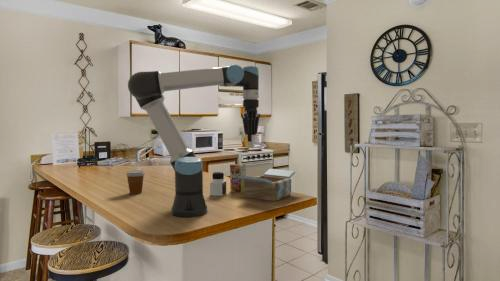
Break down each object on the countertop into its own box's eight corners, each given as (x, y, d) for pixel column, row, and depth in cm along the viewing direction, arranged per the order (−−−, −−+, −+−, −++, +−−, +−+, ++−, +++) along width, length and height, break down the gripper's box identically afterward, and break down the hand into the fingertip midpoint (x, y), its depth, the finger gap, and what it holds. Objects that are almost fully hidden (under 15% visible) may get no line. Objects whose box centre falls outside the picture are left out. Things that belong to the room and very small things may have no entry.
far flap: (288, 176, 174) (294, 170, 180) (263, 174, 184) (269, 168, 189) (289, 178, 175) (295, 172, 180) (264, 175, 184) (270, 170, 189)
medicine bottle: (222, 196, 173) (222, 173, 172) (209, 195, 174) (209, 173, 173) (226, 193, 180) (226, 171, 179) (213, 192, 181) (213, 171, 180)
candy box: (229, 191, 184) (229, 164, 184) (235, 190, 188) (235, 163, 187) (240, 193, 178) (240, 165, 177) (246, 192, 181) (246, 165, 180)
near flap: (246, 178, 170) (238, 175, 164) (272, 181, 161) (265, 178, 155) (245, 180, 170) (237, 177, 164) (272, 183, 160) (264, 181, 155)
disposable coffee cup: (123, 194, 178) (122, 172, 177) (133, 190, 187) (132, 170, 186) (138, 195, 175) (138, 173, 175) (148, 191, 185) (147, 170, 184)
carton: (276, 201, 160) (276, 183, 160) (243, 196, 172) (243, 179, 172) (292, 195, 173) (292, 178, 173) (260, 190, 185) (260, 175, 185)
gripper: (249, 98, 150) (249, 149, 152) (264, 99, 161) (264, 147, 162) (236, 98, 155) (236, 148, 156) (252, 100, 165) (252, 147, 166)
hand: (251, 148), depth 159 cm, fingers closed
